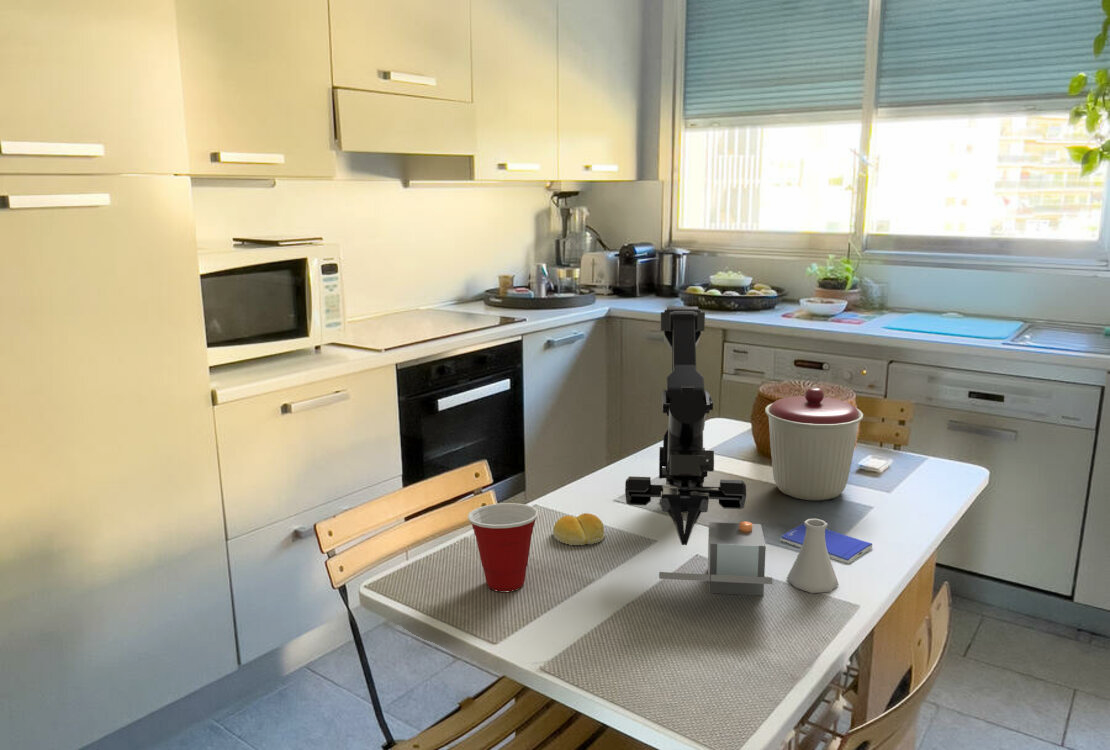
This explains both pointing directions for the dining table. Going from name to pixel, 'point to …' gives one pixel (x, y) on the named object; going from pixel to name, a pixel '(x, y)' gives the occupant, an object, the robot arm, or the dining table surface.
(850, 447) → the canister
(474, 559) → the dining table surface
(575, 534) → the bread roll
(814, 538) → the flask
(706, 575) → the side door
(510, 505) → the plastic cup
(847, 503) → the dining table surface
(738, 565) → the grey box
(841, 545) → the hard drive
